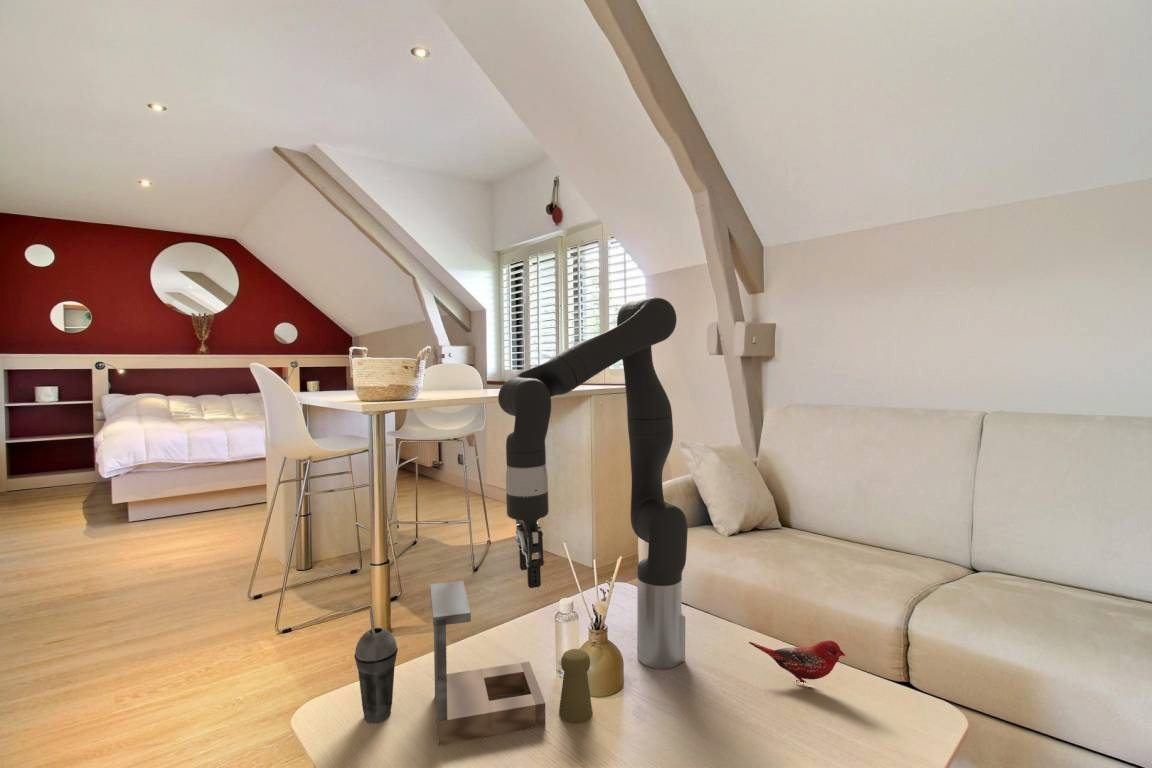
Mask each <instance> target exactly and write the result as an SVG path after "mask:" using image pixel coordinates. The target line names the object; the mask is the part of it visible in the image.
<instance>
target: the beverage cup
mask: <svg viewBox="0 0 1152 768" xmlns="http://www.w3.org/2000/svg"><path fill="white" fill-rule="evenodd" d="M368 609H369V619H370V629H369V630H367V631H365V633H363V634H362V635H361V636H360V638H359V640H358V641H357V644H356V646H355V651H354V656H353V657H354V660H355V665H356V668H357V672H358V681H359V690H360V697H361V706H362V712H363V718H364V719H363V720H364V721H365V723H367V724H380V723H383V722H385V721H387V720H388V719H389V718H390V717H391V714H392V706H393V697H394V696H393V695H394V683H395V682H394V679H395V678H394V677H395V667H396V666H395V665H396V661H397V655H398V650H399V648H398V645H397V640H396V639H395V636H394V635H393V633H392V632H391V631H390V630H388V629H386V628H382V627H375V621H374V620H375V619H374V612H373V611H374V610H373V607H369V608H368Z"/></svg>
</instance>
